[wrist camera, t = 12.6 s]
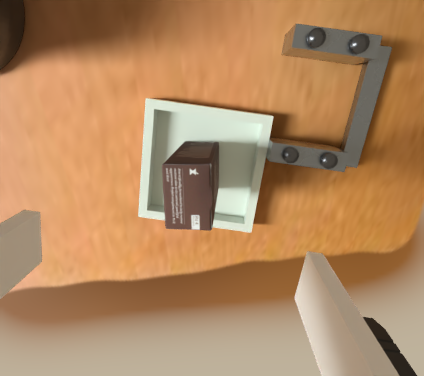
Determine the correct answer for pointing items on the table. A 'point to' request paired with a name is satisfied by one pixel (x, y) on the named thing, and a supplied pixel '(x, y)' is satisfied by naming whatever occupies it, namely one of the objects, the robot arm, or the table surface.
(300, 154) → the hitch bracket
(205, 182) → the box
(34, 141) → the table surface
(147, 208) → the tray
